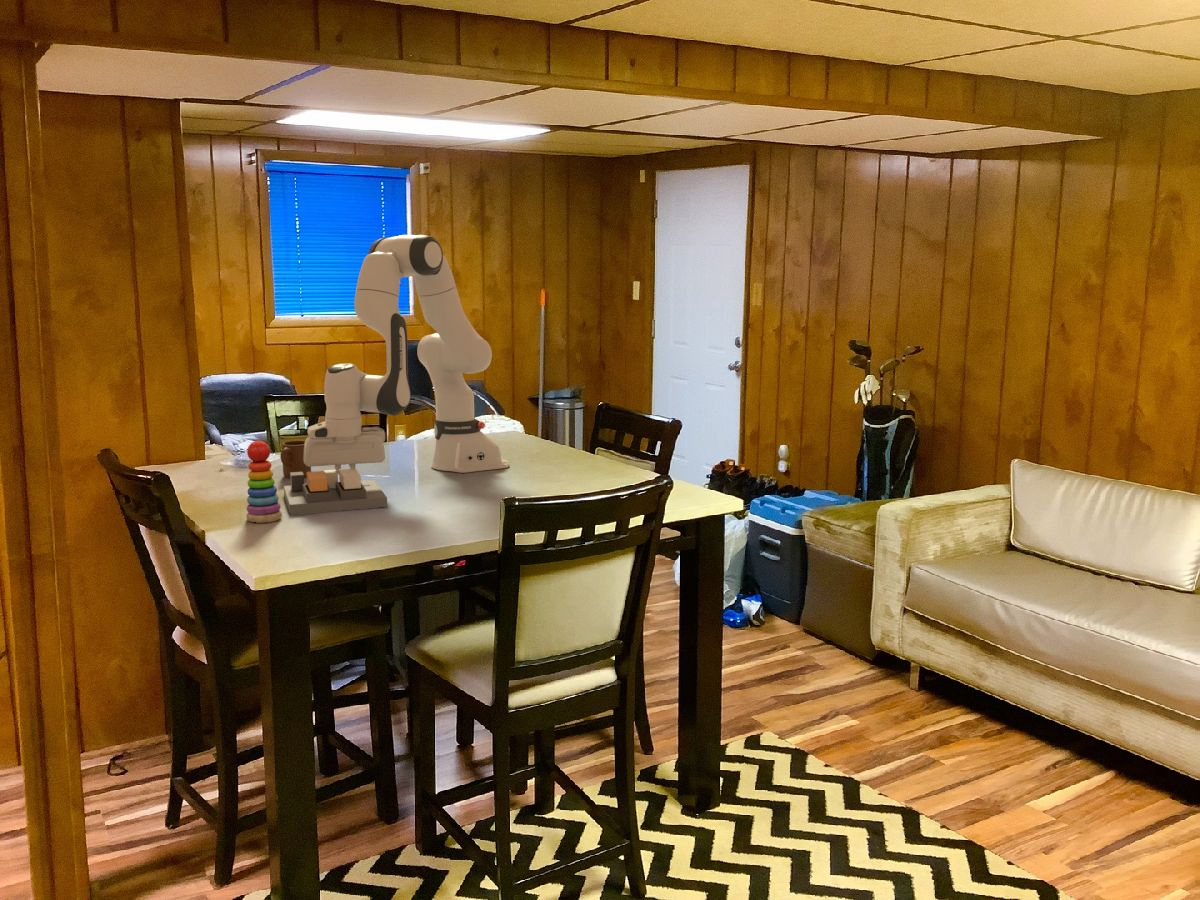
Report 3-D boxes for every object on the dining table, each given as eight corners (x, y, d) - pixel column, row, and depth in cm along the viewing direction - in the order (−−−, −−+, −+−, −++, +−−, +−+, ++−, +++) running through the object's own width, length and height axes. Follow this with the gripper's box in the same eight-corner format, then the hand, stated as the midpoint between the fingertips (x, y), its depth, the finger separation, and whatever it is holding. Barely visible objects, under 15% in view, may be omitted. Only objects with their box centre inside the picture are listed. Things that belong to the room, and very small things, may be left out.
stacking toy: (274, 513, 243) (270, 436, 239) (287, 520, 237) (283, 441, 233) (241, 518, 238) (237, 440, 235) (253, 525, 232) (249, 445, 228)
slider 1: (303, 486, 259) (302, 471, 258) (304, 490, 255) (303, 474, 254) (290, 487, 257) (290, 472, 257) (292, 491, 254) (291, 475, 253)
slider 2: (336, 484, 261) (335, 469, 261) (338, 488, 258) (337, 472, 257) (324, 485, 260) (323, 470, 260) (326, 488, 257) (325, 473, 256)
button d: (356, 480, 257) (355, 468, 256) (361, 488, 248) (360, 476, 248) (339, 481, 255) (339, 469, 255) (344, 489, 247) (343, 477, 246)
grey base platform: (374, 489, 269) (373, 471, 268) (387, 507, 250) (386, 488, 249) (284, 495, 261) (283, 477, 260) (290, 514, 242) (289, 495, 241)
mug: (296, 482, 276) (294, 448, 274) (270, 481, 277) (268, 447, 275) (316, 473, 287) (314, 441, 286) (291, 472, 289) (289, 440, 287)
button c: (323, 482, 254) (323, 470, 253) (327, 490, 246) (327, 478, 245) (307, 483, 252) (306, 471, 252) (310, 491, 244) (309, 479, 244)
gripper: (382, 424, 264) (384, 476, 267) (301, 428, 257) (303, 481, 259) (386, 428, 258) (388, 481, 261) (303, 432, 251) (306, 486, 253)
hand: (345, 481), depth 260 cm, fingers closed
